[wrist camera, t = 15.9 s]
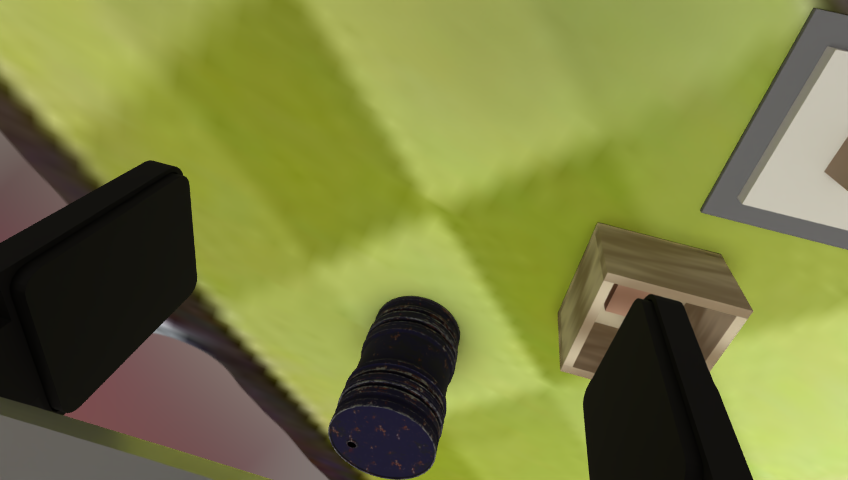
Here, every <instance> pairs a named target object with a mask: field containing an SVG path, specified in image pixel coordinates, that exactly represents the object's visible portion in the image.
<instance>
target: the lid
mask: <svg viewBox="0 0 848 480" xmlns="http://www.w3.org/2000/svg"><path fill="white" fill-rule="evenodd" d="M737 198H738V200H739V201H740V202H741V204H743V205H747V206H751V207H755V208H759V209H763V210H767V211H771V212H775V213H779V214H783V215H787V216H791V217H795V218H799V219H803V220H807V221H811V222H815V223H820V224H824V225H828V226H832V227H836V228H840V229H844V230H848V51H847V50H842V49H838V48H833V47H829V46H827V48H826V49H825V51H824V53H823V54H822V56H821V58H820V59H819V61H818V63H817V64H816V66H815V68H814V69H813V71H812V73H811V74H810V76H809V78H808V79H807V81H806V83H805V85H804V86H803V88H802V90H801V91H800V93H799V95H798V96H797V98H796V100H795V101H794V103H793V105H792V106H791V108H790V110H789V111H788V113H787V115H786V116H785V118H784V120H783V121H782V123H781V125H780V126H779V128H778V130H777V132H776V133H775V135H774V137H773V138H772V140H771V142H770V143H769V145H768V147H767V148H766V150H765V152H764V153H763V155H762V157H761V158H760V160H759V162H758V163H757V165H756V167H755V168H754V170H753V172H752V174H751V175H750V177H749V179H748V180H747V182H746V184H745V185H744V187H743V189H742V190H741V192H740V194H739V195H738V197H737Z"/></svg>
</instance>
